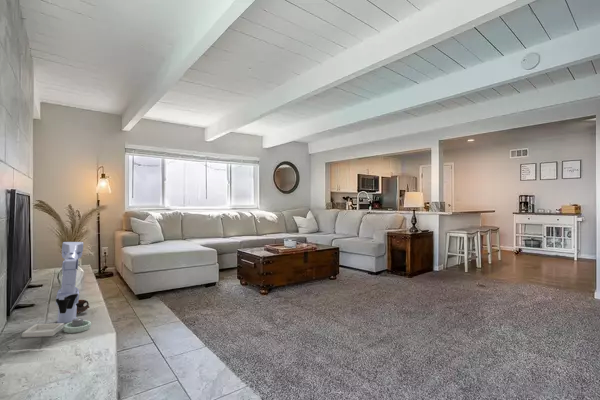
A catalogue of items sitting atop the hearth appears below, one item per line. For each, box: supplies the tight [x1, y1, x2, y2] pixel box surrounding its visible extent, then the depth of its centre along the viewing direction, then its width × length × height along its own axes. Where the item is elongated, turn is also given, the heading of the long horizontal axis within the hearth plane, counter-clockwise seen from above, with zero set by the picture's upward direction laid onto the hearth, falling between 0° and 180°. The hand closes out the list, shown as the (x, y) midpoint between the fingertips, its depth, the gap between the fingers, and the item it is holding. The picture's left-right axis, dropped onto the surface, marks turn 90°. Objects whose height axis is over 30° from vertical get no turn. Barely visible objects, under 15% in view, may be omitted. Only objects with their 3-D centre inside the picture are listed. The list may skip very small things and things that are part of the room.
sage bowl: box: [63, 319, 92, 334], centre depth 159 cm, size 11×11×3 cm
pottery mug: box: [76, 299, 90, 315], centre depth 185 cm, size 12×10×8 cm
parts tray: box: [21, 322, 65, 338], centre depth 153 cm, size 12×12×3 cm
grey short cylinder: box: [72, 317, 84, 327], centre depth 159 cm, size 5×5×4 cm
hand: (66, 310), depth 159 cm, fingers open, 7 cm apart
